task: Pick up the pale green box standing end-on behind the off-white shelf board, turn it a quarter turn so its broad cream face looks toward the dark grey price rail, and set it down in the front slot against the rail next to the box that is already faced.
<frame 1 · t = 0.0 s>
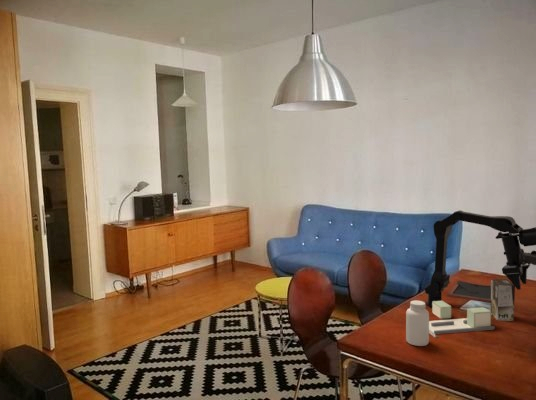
hand: (522, 286, 166), 15 cm above the table, tool pointing down, fingers open, 9 cm apart
picture frame: (474, 294, 208), on the table
faced box: (478, 326, 164), resting on shelf
pale green box: (441, 318, 176), on the table
coffee box: (501, 320, 173), on the table
pill bottle: (417, 342, 155), on the table
shelf: (456, 329, 165), on the table
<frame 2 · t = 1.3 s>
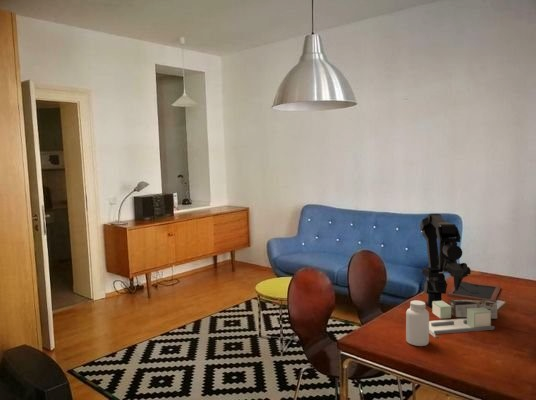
hand: (446, 291, 174), 12 cm above the table, tool pointing down, fingers open, 9 cm apart
coffee box: (493, 309, 174), point 4 cm above the table, touching shelf
everything else where it was.
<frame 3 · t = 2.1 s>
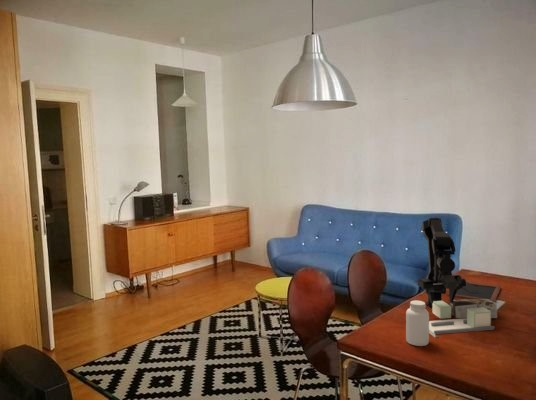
hand: (441, 302, 175), 7 cm above the table, tool pointing down, fingers open, 8 cm apart
coffee box: (493, 308, 174), point 4 cm above the table, touching gripper, shelf
everything else where it was.
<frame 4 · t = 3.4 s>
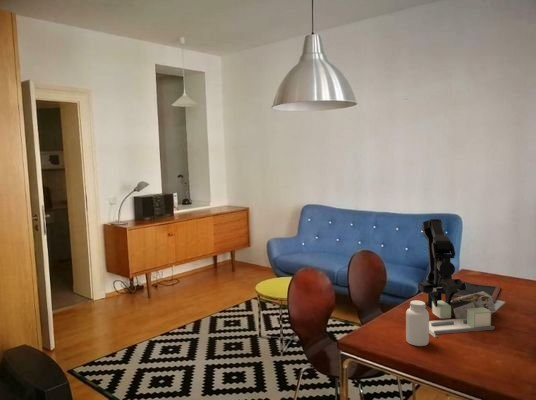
hand: (441, 306, 175), 5 cm above the table, tool pointing down, fingers closed on pale green box, 5 cm apart
pale green box: (441, 318, 176), on the table, touching gripper
coffee box: (490, 300, 175), point 7 cm above the table, touching gripper, shelf
everything else where it was.
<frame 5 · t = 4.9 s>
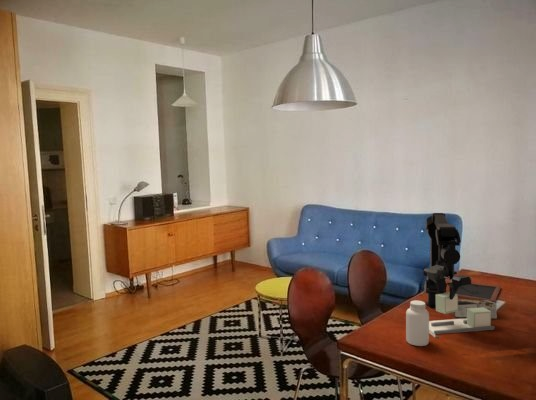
hand: (446, 297, 165), 13 cm above the table, tool pointing down, fingers closed on pale green box, 5 cm apart
pale green box: (446, 310, 165), point 7 cm above the table, touching gripper
coffee box: (493, 309, 175), point 4 cm above the table, touching shelf
everything else where it was.
when the fingers open (7 cm above the table, at t = 6.7 s): pale green box stays where it is, resting on shelf.
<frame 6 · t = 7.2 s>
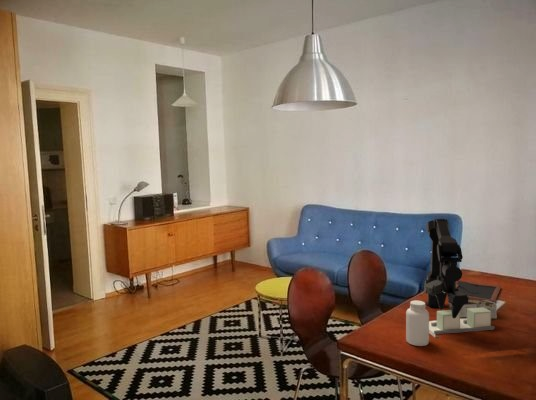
hand: (447, 313, 162), 7 cm above the table, tool pointing down, fingers open, 9 cm apart
pale green box: (448, 328, 162), point 1 cm above the table, touching shelf
everything else where it was.
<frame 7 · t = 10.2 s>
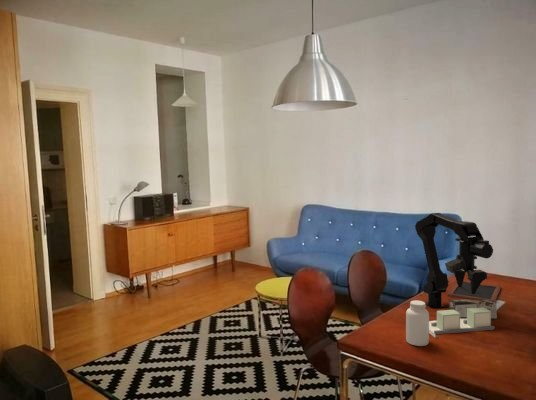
hand: (466, 290, 173), 13 cm above the table, tool pointing down, fingers open, 9 cm apart
nothing on the table moved.
at the end: pale green box 0.3 cm from the target spot on the shelf, point 1.5 cm above the shelf's base; pale green box tilted 0°; the gripper is holding nothing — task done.
